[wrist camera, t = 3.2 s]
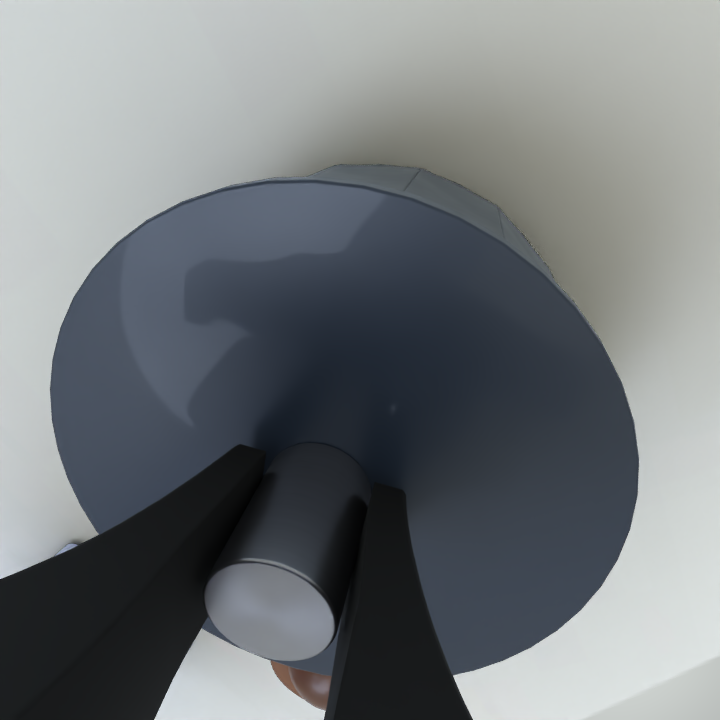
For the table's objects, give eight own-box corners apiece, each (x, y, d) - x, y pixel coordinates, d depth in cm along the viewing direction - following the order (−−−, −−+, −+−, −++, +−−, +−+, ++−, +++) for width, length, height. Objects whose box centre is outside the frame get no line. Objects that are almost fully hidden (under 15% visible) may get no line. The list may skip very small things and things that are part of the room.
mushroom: (349, 647, 26) (324, 757, 21) (273, 581, 25) (232, 682, 20) (430, 608, 23) (420, 721, 19) (351, 534, 22) (322, 636, 18)
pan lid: (331, 698, 17) (288, 878, 13) (-6, 413, 15) (-187, 531, 11) (752, 513, 12) (898, 729, 8) (328, -1, 9) (214, -80, 5)
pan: (367, 539, 22) (339, 659, 18) (144, 328, 20) (41, 400, 15) (641, 377, 17) (705, 484, 12) (384, 67, 15) (342, 51, 10)
